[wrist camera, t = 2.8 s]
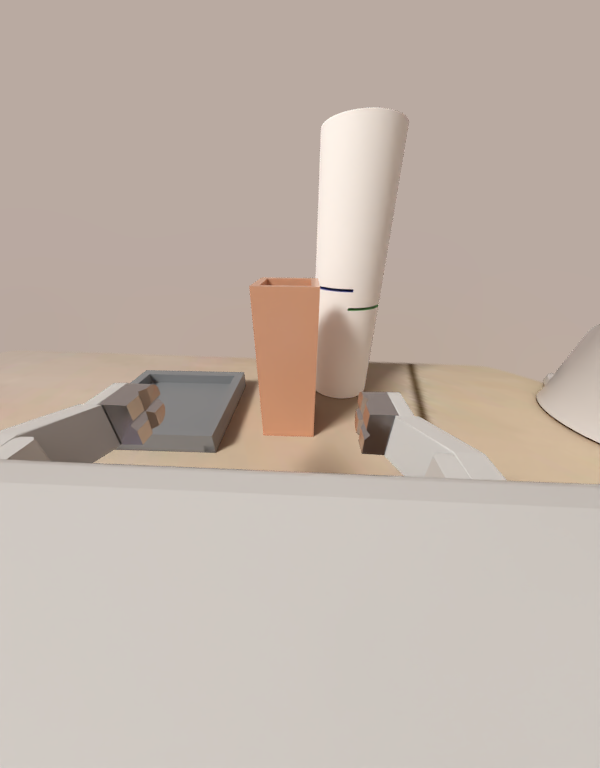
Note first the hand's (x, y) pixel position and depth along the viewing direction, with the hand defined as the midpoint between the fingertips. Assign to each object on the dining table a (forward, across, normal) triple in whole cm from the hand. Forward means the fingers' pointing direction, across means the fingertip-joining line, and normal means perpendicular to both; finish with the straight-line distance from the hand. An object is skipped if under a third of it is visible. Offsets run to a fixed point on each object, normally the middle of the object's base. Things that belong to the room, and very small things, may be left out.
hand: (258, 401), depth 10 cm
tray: (+14, +13, +11) cm, 22 cm away
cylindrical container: (+21, -6, +11) cm, 24 cm away
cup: (+12, 0, +11) cm, 17 cm away
